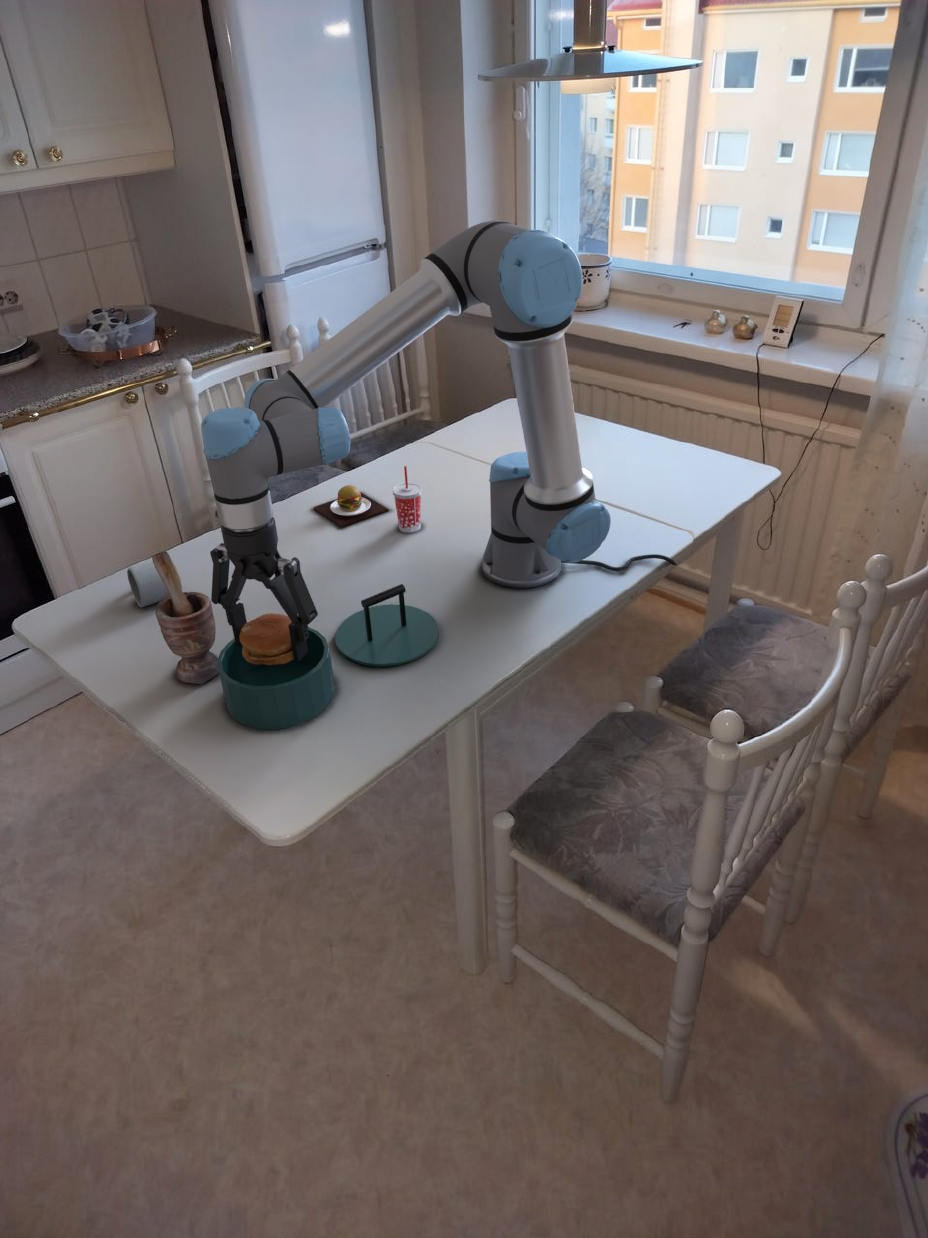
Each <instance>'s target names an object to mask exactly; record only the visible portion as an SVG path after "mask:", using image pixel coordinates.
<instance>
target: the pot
mask: <svg viewBox="0 0 928 1238" xmlns="http://www.w3.org/2000/svg"><path fill="white" fill-rule="evenodd" d="M308 631H309V637H308V638H307V639H306V642H307V648H308V653H307V654H306V655H305V656H304V657H303V658H302V659H301V660H300V661H299V662H298V661H295V660H294V659H293V660H292V661H290V662H288V663H285V664H278V665H274V664H273V665H267V664H266V665H265V664H260V665H257V664H252V663H249V662H248V661H246V659H244V657H243V654H242V649H243V646H241V647H236V643H235V639H234V638H233V639H232V640H229V642H227V644H226V645H225V646H223V648H222V649H221V651H220V652H219V654H218V657H217V658H218V660H217V665H218V671H219V673H218V674H219V679H220V682H221V687H222V691H223V695H224V699H225V704H226V708H227V711H228V712H229V714H230V715H231V717H232V718H233V719H234V720H235V721H237V722H238V723H239V724H242V725H244V726H246V727H249V728H252V729H257V730H265V731H269V730H270V731H273V730H283V729H288V728H293V727H296V726H299V725H302V724H304V723H306V722H309V721H310V720H312V719H314V718H316V717H317V716H318V715H320V714H321V713H322V712H323V711H325V710H326V708H327V707H328V706H329V704H330V703H331V702H332V700H333V698H334V694H335V677H334V672H333V664H332V657H331V652H330V646H329V643H328V640H327V638H326V637H325V636H324V635H323V634H322V633H321V632H319V631H318V630H317V629H314V628H312V627H310V626H308Z"/></svg>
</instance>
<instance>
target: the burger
mask: <svg viewBox="0 0 928 1238" xmlns="http://www.w3.org/2000/svg"><path fill="white" fill-rule="evenodd" d="M291 622H292V621H291V620H290V618H289V617H288V615H287V614H283V613H265V614H262V615H260V616H258V617H256V618H255V619H252V620H250V621H247V623H245V624H244V625H243V627H242V629H241V632H240V635H239V639H240V642H241V644H242V646H243V649H242V654H243V657H244V659H246V661H248V662H249V663H252V664H257V665H260V664H265V665H266V664H267V665H273V664H274V665H278V664H285V663H288V662H290V661H292V660H293V659H294V655H293V649H292V643H291V638H290V632H289V626H288V625H289V624H290V623H291Z"/></svg>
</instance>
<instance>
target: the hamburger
mask: <svg viewBox="0 0 928 1238" xmlns="http://www.w3.org/2000/svg"><path fill="white" fill-rule="evenodd" d="M313 509H314V511H316V512H317V513H319V514H321V516H323V517H325V518H326V519H327V520H330V522H332V523H333V524H335V525H336V526H338V527H339V528H341V529H344V528H347V527H350V526H351V525H355V524H357V523H360V522H362V521H366V520H368V519H371V518H373V517H376V516H379V515H382V514H384V513H388V512H389V508H388V507H386V506H384V505H383V504H381V503H379V502H377V501H376V500H374V499H372V498H371V497H369V496H368V495H366V494H364V493H363V492H361V490H360V489H359V488H358V487H357V486H355V485H352V484H351V485H350V484H347V485H344V486H342V487H340V489H339V490H338V491H337V498H336V499H333V500H331V501H327V502H324V503H322V504H318V505H316V506H313Z"/></svg>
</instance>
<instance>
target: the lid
mask: <svg viewBox="0 0 928 1238" xmlns="http://www.w3.org/2000/svg"><path fill="white" fill-rule="evenodd" d="M406 592H407V591H406V587H405V585H404V584H403V583H400V584H398V585H395V586H393V587H391V588H388V589H386V590H384V591H381V592H378V593H376V594H374V595H371V596H368V597H366V598H364V599H361V600H360V604H361V607H362V608H363V609H361V610H359V611H357V612H355V613H353V614H350V615H349V616H348V617H347V618H345V619H344V620H343V621H342V622H341V623H340V624H339V626H338V627H337V629H336V632H335V637H334V639H335V646H336V648H337V649H338V651H339V653H341V654H342V656H344V657H345V658H346V659H348V660H350V661H352V662H355V663H358V664H361V665H365V666H371V667H392V666H398V665H402V664H406V663H409V662H410V663H411V662H412V661H414V660H418V659H419V658H421V657H423V656H424V655H426V654H428V653H429V652H430V651H431V650H432V649H433V648H434V647H435V645H436V644H437V642H438V639H439V636H440V627H439V624H438V622H437V620H436V619H435V617H434V616H433V615H432V614H430V613H428V612H427V611H425V610H423V609H421V608H419V607H415V606H413V605H412V606H411V605H406V602H405V601H406V600H405V593H406ZM397 596H398V604H397V603H394V604H393V603H392V604H391V603H390V604H380V603H383V602H385V601H387V600H390V599H392V598H395V597H397ZM377 604H379V605H377Z"/></svg>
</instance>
